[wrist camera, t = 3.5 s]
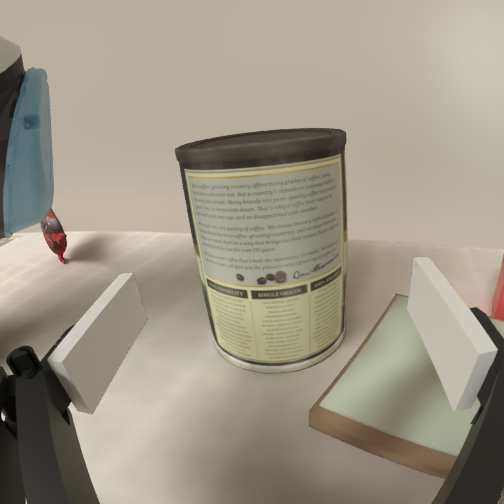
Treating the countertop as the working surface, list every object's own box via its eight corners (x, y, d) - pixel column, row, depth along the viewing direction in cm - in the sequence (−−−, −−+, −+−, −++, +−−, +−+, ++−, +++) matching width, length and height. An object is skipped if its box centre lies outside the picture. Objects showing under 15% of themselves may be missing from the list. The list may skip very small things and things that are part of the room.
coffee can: (191, 321, 26) (156, 147, 21) (292, 281, 31) (280, 127, 25) (255, 399, 18) (217, 149, 12) (374, 330, 22) (381, 130, 17)
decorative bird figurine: (61, 248, 48) (46, 192, 44) (90, 278, 36) (68, 199, 32) (46, 255, 46) (30, 197, 42) (70, 287, 34) (45, 207, 30)
